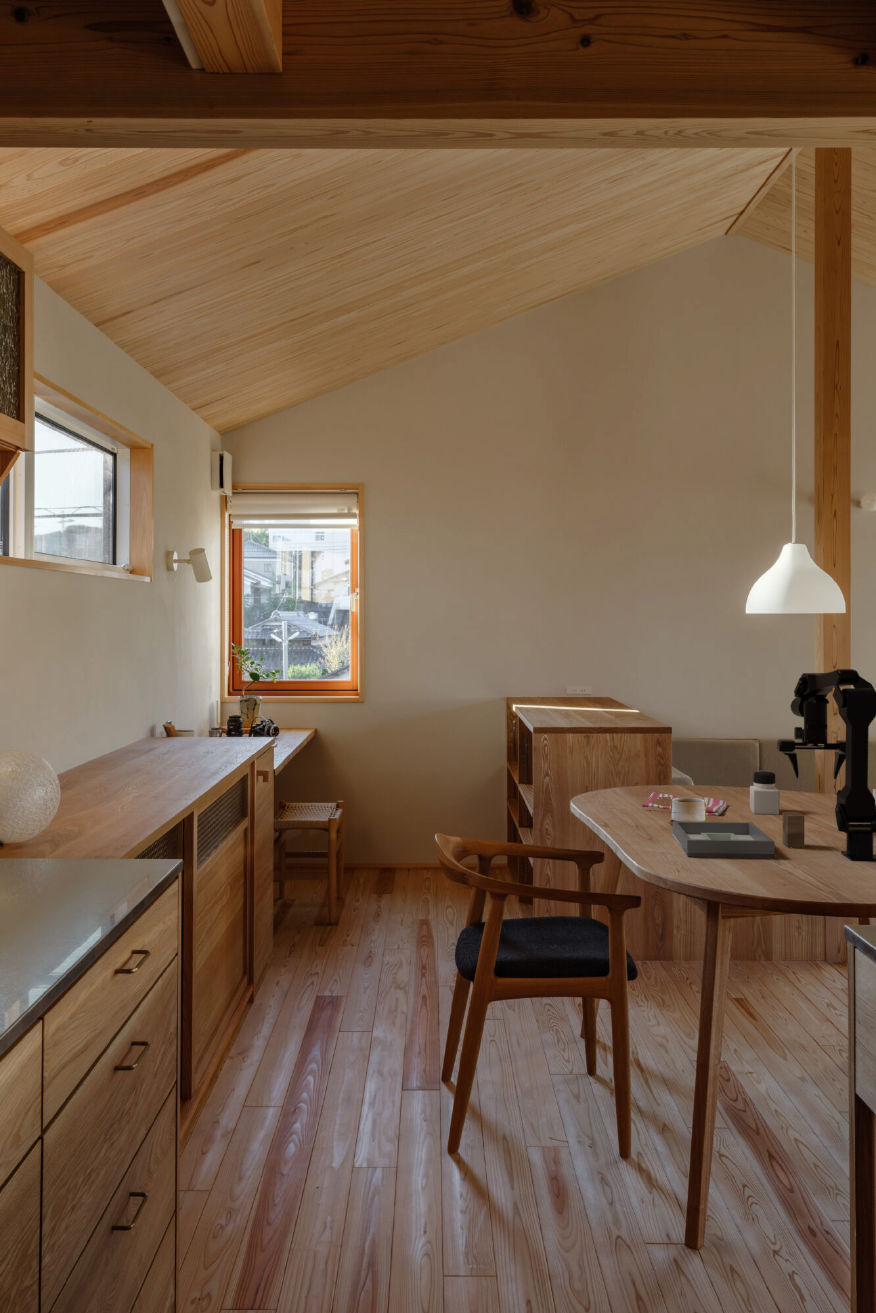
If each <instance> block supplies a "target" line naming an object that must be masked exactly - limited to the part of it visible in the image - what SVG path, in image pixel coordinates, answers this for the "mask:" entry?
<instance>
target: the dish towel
mask: <svg viewBox="0 0 876 1313" xmlns="http://www.w3.org/2000/svg"><path fill="white" fill-rule="evenodd" d="M650 797H651V798H650ZM659 797H661V798H662V797H671V799H673V798H674V797H678V796H677V795H674V794H665V793H659V792H657V791H653V792H652V793H651V794H650V796H649V798H650V799H649V798H648V799H649V800H648V799H647V800H645V801H642V804H641V807H642V808H644V807H654V808H660V809H671V806H661V805H657V804H652V802H651V801H653V799H659ZM699 798H702V799H704V801H705V803H706V807H705V809H706V815H705V816H714V817H715V816H720V815H721V814H722V813H723V812H724V811H725V810H726V808H727V805H728V802H727V801H726V800H723V799H719V798H718V799H717V798H714V797H705V796H703V797H699Z"/></svg>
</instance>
